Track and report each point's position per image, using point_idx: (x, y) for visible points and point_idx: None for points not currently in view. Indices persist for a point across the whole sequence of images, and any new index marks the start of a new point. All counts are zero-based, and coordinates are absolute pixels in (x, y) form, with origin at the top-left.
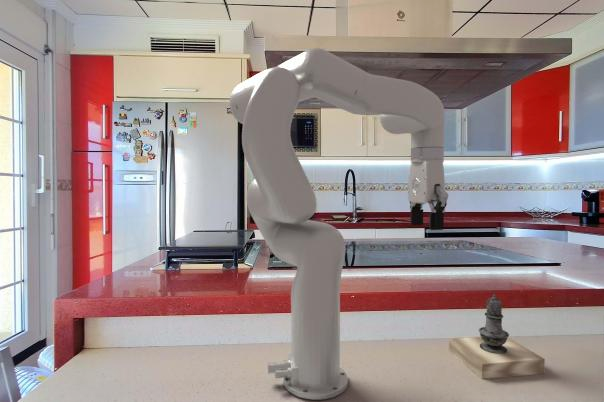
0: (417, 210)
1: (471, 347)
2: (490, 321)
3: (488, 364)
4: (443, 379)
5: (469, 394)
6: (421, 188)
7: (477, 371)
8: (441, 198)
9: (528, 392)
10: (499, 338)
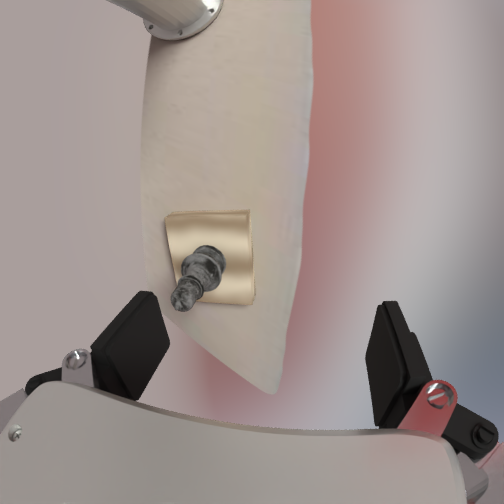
0: (388, 402)
1: (212, 233)
2: (186, 274)
3: (166, 226)
4: (173, 162)
5: (143, 179)
6: (24, 492)
7: (179, 213)
8: (11, 401)
9: (149, 245)
10: (181, 267)
